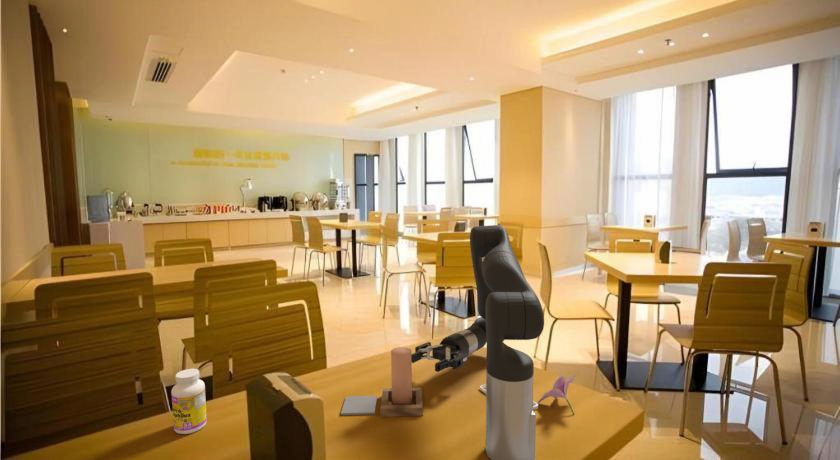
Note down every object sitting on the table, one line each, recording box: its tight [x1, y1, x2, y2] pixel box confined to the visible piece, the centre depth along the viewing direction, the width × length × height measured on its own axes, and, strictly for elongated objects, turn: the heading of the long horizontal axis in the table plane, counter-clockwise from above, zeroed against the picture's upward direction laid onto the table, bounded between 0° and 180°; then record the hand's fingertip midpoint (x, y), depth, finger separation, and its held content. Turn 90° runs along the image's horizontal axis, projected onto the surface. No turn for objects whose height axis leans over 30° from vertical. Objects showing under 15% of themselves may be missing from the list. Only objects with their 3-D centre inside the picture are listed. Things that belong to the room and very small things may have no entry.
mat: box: [340, 395, 378, 416], centre depth 104 cm, size 8×8×1 cm
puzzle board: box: [379, 387, 424, 418], centre depth 104 cm, size 10×10×2 cm
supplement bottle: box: [170, 368, 208, 435], centre depth 95 cm, size 7×7×13 cm
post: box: [390, 346, 413, 405], centre depth 103 cm, size 5×5×14 cm
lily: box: [536, 372, 580, 416], centre depth 102 cm, size 12×12×10 cm
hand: (423, 363), depth 110 cm, fingers open, 8 cm apart
